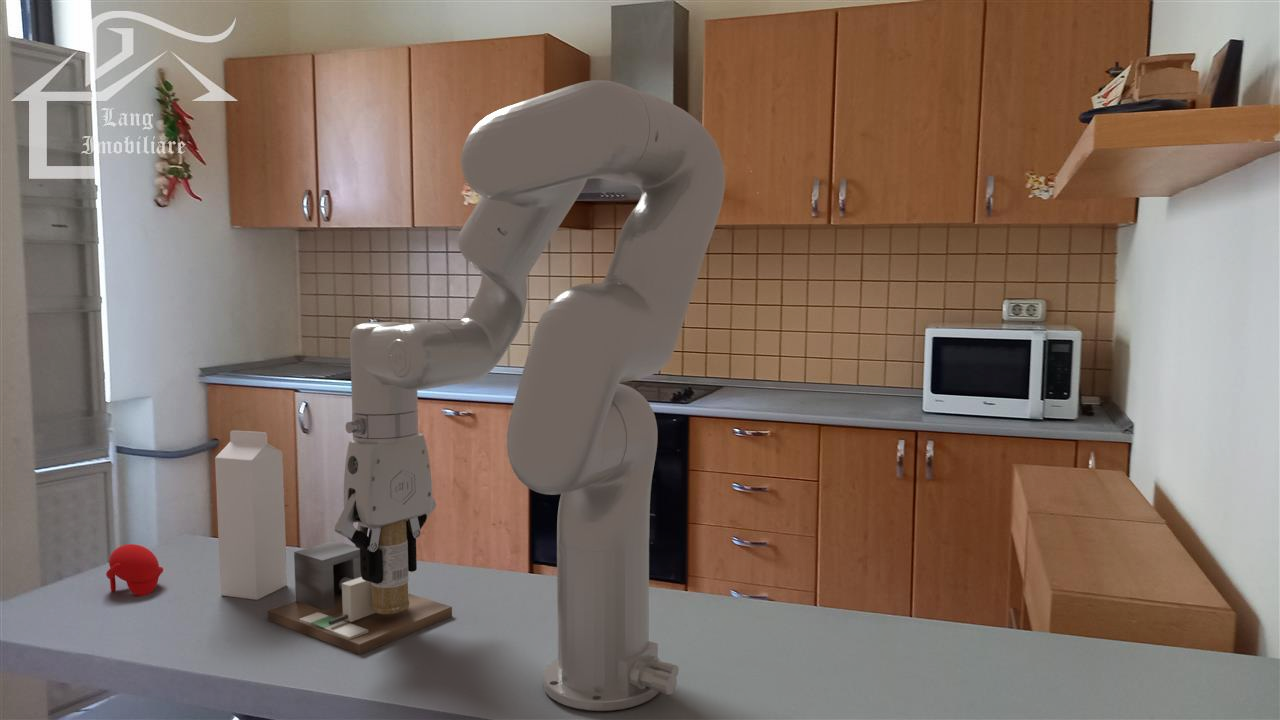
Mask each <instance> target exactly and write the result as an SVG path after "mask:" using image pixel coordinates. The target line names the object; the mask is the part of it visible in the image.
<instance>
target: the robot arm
mask: <svg viewBox="0 0 1280 720" xmlns="http://www.w3.org/2000/svg"><path fill="white" fill-rule="evenodd" d="M460 160H461V161H460V163H461V171H462V174H463V177H464V179H465V182H466V183H467V185H468V186H469V188H470V189H471V190H472V191H473V192H475V194H478V195H479V196H481V197H480V199H479V200H478V202H477V204H476V205H475V207H474V209H473V210H472V212H471V213H470V215H469V217H468V219H466V221H465V223H464V224H463V227H462V228H461V230H460V231H459V233H458V236H457V246H458V250H459V252H460V253H461V255H462V256H463V258H464V259H465V260H466V261H467V262H468V263H469V264H470V266H472V267H473V268H474V269H475V270H476V271H477V272H479V273H480V274H481V280H480V285H479V288H478V291H477V292H476V295H475V296H474V298H473V300H472V302H471V303H470V305H468V306H469V307H468V308H467V310H466V311H465V313H464V314H463V316H462V317H461V318H460V319H456V320H437V321H436V320H435V321H427V322H414V323H405V322H400V321H399V322H397V321H395V322H394V321H379V322H376V321H375V322H374V321H373V322H363V323H360V324H357V325H355V326H354V327H353V328H352V330H351V332H350V336H349V347H350V349H349V350H350V381H351V382H350V384H351V385H350V386H351V388H350V389H351V416H352V417H351V418H352V419H351V421H347V422H346V423H345V431H346V432H347V433H348V434H352V439H349V441H348V444H347V451H346V456H345V465H344V475H343V476H344V477H343V510H342V512H341V514H340V516H339V517H338V519H337V521H336V524H335V525H334V532H336V533H337V534H339V535H341V536H342V537H345V538H346V539H348V540H349V541H350V542H352V544H353V545H354V546H356V547H357V548H360V567H361V577H362V579H363V580H366V581H369V582H372V583H376V584H379V583H381V582H382V581H383V559H382V550H379V549H377V548H378V543H379V537H380V530H381V527H382V526H386V525H390V524H393V523H397V522H401V521H404V520H406V531H407V532H406V534H407V541H408V572H410V573H412V572H415V571H417V567H418V566H417V557H418V555H417V539H419V538H420V536H421V534H422V532H421V529H422V528H423V526H424V524H425V523H426V521H427V520H428V517H429V516H430V515H431V514H432V512H433V511H434V510H435V509H436V507H437V503H436V500H434V498H433V497H434V496H433V495H434V494H433V482H432V481H433V479H432V469H431V462H430V456H429V451H428V446H427V442H426V439H425V436H424V433H421V432H419V413H418V411H419V410H418V408H419V402H418V400H419V399H418V397H419V396H418V391H421V390H429V389H435V388H442V387H446V386H453V385H459V384H466V383H472V382H476V381H478V380H480V379H483V378H484V377H485V376H487V375H488V374H489V373H490V372H491V371H493V370H494V368H496V366H497V365H498V363H499V362H500V361H501V360H502V358H503V357H504V355H505V354H506V352H507V351H508V349H509V348H510V346H511V344H513V342H514V340H515V338H516V336H517V335H518V334H519V331H520V330H521V328H522V325H523V322H524V319H525V314H526V308H527V302H528V285H527V284H528V282H527V280H528V276H529V274H530V272H531V271H532V269H533V267H534V266H535V265H536V263H537V261H538V260H539V258H540V257H541V255H542V254H543V252H544V250H545V249H546V247H547V245H548V244H549V243H550V241H551V240H552V238H553V236H554V235H555V233H556V232H557V230H558V228H559V227H560V226H561V224H562V222H563V221H564V219H565V218H566V216H567V215H568V213H569V212H570V210H571V208H572V207H573V205H574V203H575V202H576V201H577V199H578V198H579V196H580V194H581V192H582V191H583V189H584V187H585V185H586V184H587V181H588V180H590V179H591V180H592V179H602V180H607V181H612V182H617V183H622V184H627V185H633V186H637V187H638V188H639V190H640V191H641V195H640V198H639V201H638V203H637V204H636V205H635V207H634V208H633V209H632V211H631V212H630V214H629V215H628V216H627V219H626V220H625V223H624V224H623V226H622V228H621V230H620V233H619V235H618V238H617V242H616V244H615V249H614V253H613V255H612V258H611V261H610V264H609V267H608V270H607V272H606V275H605V277H604V278H603V280H602V282H593V283H592V282H590V283H582V284H577V285H575V286H571V287H569V288H567V289H565V290H564V291H562V292H561V293H559V294H558V295H557V296H556V297H555V298H554V299H552V301H551V302H550V303H549V304H548V305H547V307H546V308H545V309H544V312H543V313H542V314H541V316H540V318H539V320H538V322H537V324H536V328H535V330H534V333H533V336H532V338H531V342H530V346H529V350H528V353H527V357H526V359H525V363H524V366H523V371H522V372H521V373H522V374H521V377H520V381H519V383H518V387H517V391H516V395H515V398H514V401H513V405H512V409H511V411H510V416H509V420H508V424H507V425H508V426H507V432H506V452H507V456H508V457H507V458H508V461H509V464H510V466H511V469H512V470H513V473H514V474H515V476H516V478H517V479H518V480H519V481H520V482H521V483H522V484H523V485H524V486H525V487H527V488H528V489H529V490H532V491H534V492H535V493H539V494H543V495H550V496H553V495H555V496H556V495H560V498H559V502H558V510H557V520H556V521H557V522H556V569H557V570H556V573H557V574H556V575H557V576H556V583H557V584H556V585H557V586H556V587H557V588H556V589H557V590H556V592H557V593H556V594H557V602H556V603H557V607H556V608H557V609H556V610H557V658H556V659H555V660H553V661H551V662H550V664H549V665H547V666H546V667H545V670H544V671H543V674H542V675H543V676H542V682H543V683H542V685H543V686H542V687H543V689H544V691H545V693H546V695H548V697H550V698H551V699H553V700H554V701H556V702H557V703H559V704H560V705H561V704H562V705H563V706H566V707H569V708H574V709H578V710H584V711H591V712H592V711H595V712H610V711H618V710H625V709H629V708H633V707H637V706H639V705H642V704H645V703H647V702H648V701H650V700H652V699H653V698H654V697H656V696H657V695H658V694H659V693H662V694H665V695H669V696H670V695H672V694H673V693H674V691H675V690H676V688H677V677H678V675H679V666H678V665H677V664H675V663H674V664H673V663H670V662H666V661H661V660H660V658H659V656H658V654H659V652H658V651H659V649H658V647H659V644H658V643H657V642H653V641H650V514H651V513H650V510H651V505H650V504H651V494H652V493H651V491H652V481H653V474H654V470H655V469H654V467H655V461H656V458H657V457H656V456H657V450H658V449H657V448H658V433H659V432H658V424H657V419H656V415H655V413H654V410H653V408H652V406H651V405H650V403H649V401H648V400H647V399H646V397H645V396H643V395H642V394H641V392H639V391H638V390H636V389H635V388H633V387H631V386H629V385H626V384H622V383H627V382H631V381H635V380H640V379H644V378H647V377H650V376H653V375H655V374H657V373H658V372H660V371H661V370H662V369H664V367H666V366H667V364H668V363H669V362H670V359H672V356H673V354H674V352H675V349H676V347H677V342H678V340H679V337H680V333H681V331H682V327H683V325H684V322H685V318H686V315H687V312H688V308H689V306H690V302H691V300H692V296H693V294H694V291H695V288H696V285H697V281H698V278H699V275H700V271H701V267H702V264H703V261H704V258H705V255H706V253H707V250H708V246H709V244H710V241H711V238H712V235H713V233H714V230H715V228H716V225H717V223H718V219H719V216H720V212H721V210H722V205H723V200H724V196H725V187H726V176H725V173H726V172H725V166H724V161H723V158H722V155H721V152H720V149H719V147H718V145H717V143H716V142H715V140H714V138H713V137H712V135H711V134H710V132H709V131H708V130H707V129H706V127H705V126H704V125H703V124H702V123H701V122H700V121H699V120H697V118H695V116H694V115H691V114H690V113H689V112H688V111H686V110H684V109H683V108H682V107H679V106H677V105H675V103H672V102H669V101H667V100H665V99H663V98H661V97H658V96H654V95H651V94H649V93H646V92H643V91H640V90H639V89H636V88H633V87H630V86H628V85H625V84H623V83H620V82H616V81H611V80H605V79H604V80H603V79H601V80H600V79H598V80H597V79H595V80H594V79H593V80H586V81H583V82H578V83H575V84H571V85H568V86H565V87H562V88H559V89H556V90H553V91H550V92H547V93H544V94H541V95H538V96H534V97H532V98H529V99H526V100H523V101H520V102H517V103H514V104H511V105H508V106H505V107H503V108H500V109H498V110H496V111H493V112H492V113H490V114H488V115H486V116H485V117H483V118H482V119H481V120H480V121H478V122H477V124H476V125H475V126H474V127H473V128H472V130H471V131H470V132H469V134H468V135H467V137H466V139H465V141H464V144H463V147H462V151H461V159H460ZM354 523H357V527H355V526H354Z"/></svg>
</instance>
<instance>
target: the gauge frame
mask: <svg viewBox="0 0 1280 720" xmlns="http://www.w3.org/2000/svg"><path fill="white" fill-rule="evenodd" d="M293 553H294V554H293V559H294V561H293V562H294V585H295V587H294V590H295V592H294V593H295V600H294V601H291V602H288V603H284V604H282V605H279V606H277V607H273V608H270V609H267V610H266V612H267V613H266V617H267V621H270V622H272V623H276V624H278V625H281V626H284V627H286V628H288V629H290V630H294V631H297V632H299V633H302V634H304V635H308V636H309V637H312V638H314V639H317V640H320V641H322V642H325V643H328V644H331V645H333V646H336V647H338V648H342V649H344V650H345V651H349V652H352V653H354V654H357V655H359V656H360V655H362V654H364V653H367V652H369V651H372V650H375V649H376V648H378V647H380V646H383V645H385V644H389V643H391V642H394V641H396V640H397V639H401V638H402V637H405V636H407V635H410V634H411V633H414V632H417V631H420V630H421V629H425V628H427V627H429V626H431V625H433V624H436V623H439V622H441V621H442V620H446V619H448V618H450V617H453V607H452V606H451V605H447V604H445V603H441V602H437V601H434V600H431V599H428V598H424V597H421V596H417V595H415V594H412V593H408V600H409V607H408V608H407V609H405V610H404V611H402V612H399V613H394V614H379V613H374V614H371V615H368V616H366V617H363V618H360V619H358V620H355V621H352V622H350V621H347V620H342V621H340V622H337V623H334V624H332V625H330V624H329V620H332V619H335V618H337V617H340V616H343V606H342V590H341V589H340V588H339V583H340V581H341V579H342V578H344V577H347V578H350V579H356V578H359V577H361V567H360V548H357V547H356V546H355V545H351V544H347V543H346V542H345V543H344V542H341V541H338V540H331V541H329V542H324V543H322V544H318V545H315V546H311V547H307V548H304V549H300V550H297V551H294V552H293Z"/></svg>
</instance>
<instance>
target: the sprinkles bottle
mask: <svg viewBox="0 0 1280 720" xmlns="http://www.w3.org/2000/svg"><path fill="white" fill-rule="evenodd" d="M406 532H407V531H406V520H404V521H401V522H397V523H393V524H390V525H386V526H382V527H381V530H380V537H379V543H378V548H377V549H379V550H382V559H383V581H382V582H381V583H379V584H376V583H372V582H371V585H372V605H371V609H372V611H374V612H376V613H379V614H394V613H399V612H402V611H404V610H405V609H407V608H408V607H409V600H408V594H409V571H408V541H407V534H406Z"/></svg>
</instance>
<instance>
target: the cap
mask: <svg viewBox="0 0 1280 720" xmlns="http://www.w3.org/2000/svg"><path fill="white" fill-rule="evenodd" d="M108 562H109V563H108V565H109V569H108V570H106V573H105V575H106V578H108V580H109V584H110V591H111V592H116V589H117V584H116V582H117V581H116V577H118V578H119V579H120V580H122V581H124V582H126V585H127V587H128V589H129V591H130V592H131V593H132V594H134V595H135V596H138V597H145V596H148V595H150V594H151V593H152V592H153V591H154V590H155V589H156V587H157V585H158V581H159V577H161V575H162V573H163V572H164V568H163V567H162V566H160V565H159V560H158V558H157V557H156V555H155V554H154V552H152V551H151V550H150V549H149V548H147V547H145V546H142V545H140V544H135V543H129V544H124V545H120V546H119V547H116V548H115V549H114V550H113V551H112V553H111V554H110V556H109V559H108Z"/></svg>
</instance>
